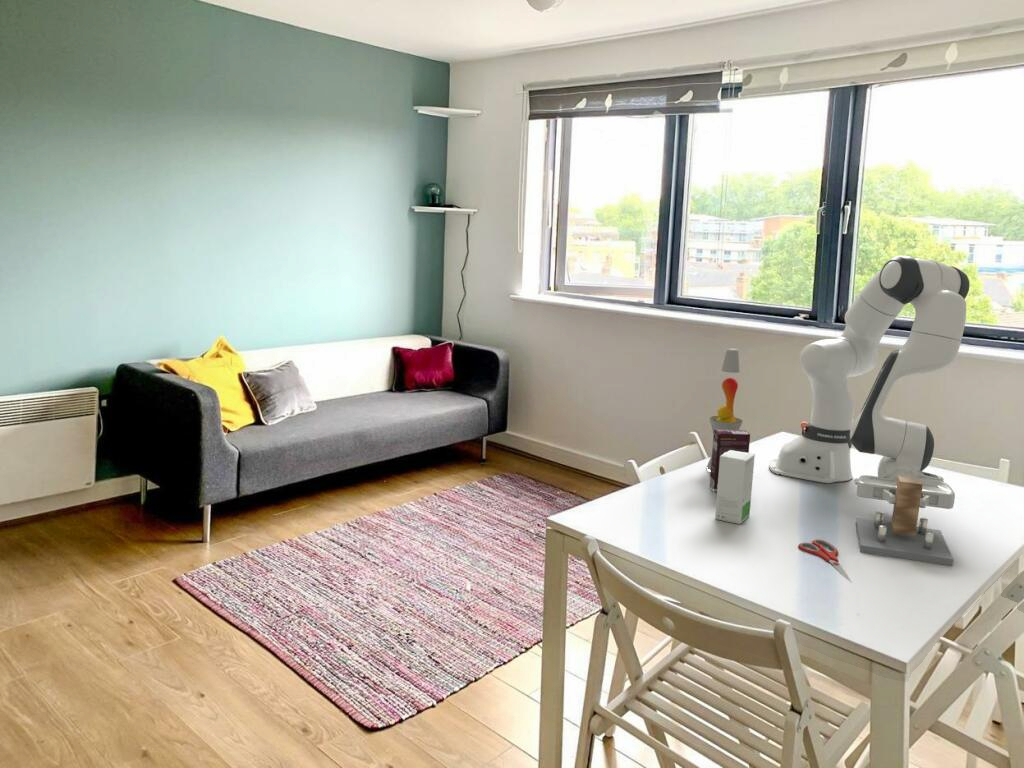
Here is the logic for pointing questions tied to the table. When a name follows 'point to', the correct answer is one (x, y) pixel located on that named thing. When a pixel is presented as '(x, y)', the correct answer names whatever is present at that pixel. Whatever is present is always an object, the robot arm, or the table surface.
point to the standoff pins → (921, 531)
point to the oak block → (906, 505)
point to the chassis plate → (902, 544)
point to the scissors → (824, 554)
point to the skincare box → (734, 486)
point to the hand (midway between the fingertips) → (907, 502)
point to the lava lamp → (727, 397)
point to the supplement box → (726, 449)
